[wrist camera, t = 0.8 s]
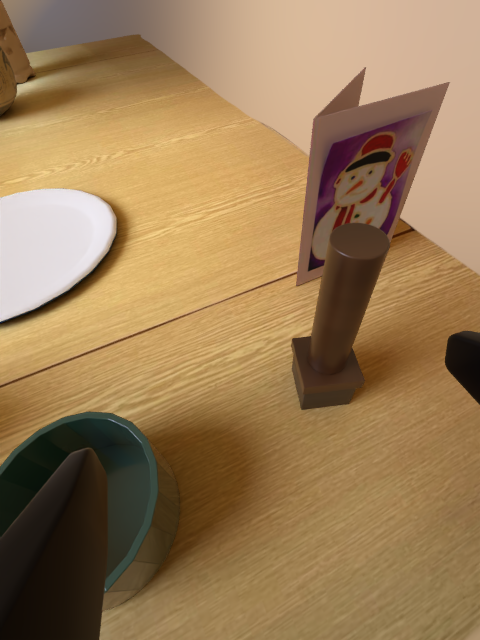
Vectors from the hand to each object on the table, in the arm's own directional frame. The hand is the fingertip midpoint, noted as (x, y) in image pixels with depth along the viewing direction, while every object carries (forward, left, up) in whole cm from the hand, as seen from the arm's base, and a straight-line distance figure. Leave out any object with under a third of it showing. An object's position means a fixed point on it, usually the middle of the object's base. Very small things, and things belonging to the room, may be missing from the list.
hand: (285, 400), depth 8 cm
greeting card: (+17, -19, -16) cm, 30 cm away
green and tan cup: (+5, +9, -16) cm, 19 cm away
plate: (+38, +11, -16) cm, 43 cm away
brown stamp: (+5, -8, -16) cm, 18 cm away
